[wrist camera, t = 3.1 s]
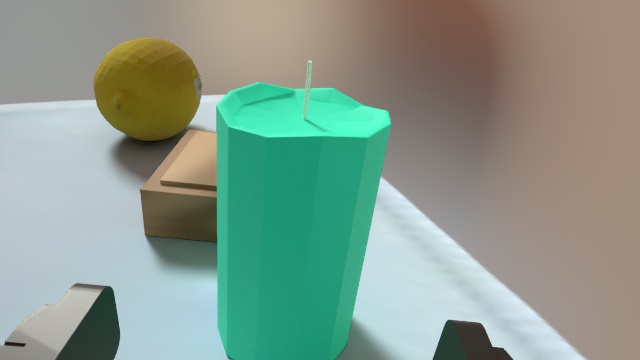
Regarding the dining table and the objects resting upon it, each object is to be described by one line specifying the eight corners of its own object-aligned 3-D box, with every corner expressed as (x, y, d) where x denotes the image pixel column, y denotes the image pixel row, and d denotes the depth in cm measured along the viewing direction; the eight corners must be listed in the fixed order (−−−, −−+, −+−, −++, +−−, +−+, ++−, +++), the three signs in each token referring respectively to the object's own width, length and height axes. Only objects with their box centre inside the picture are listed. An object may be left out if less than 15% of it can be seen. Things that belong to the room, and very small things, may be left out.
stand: (145, 235, 24) (139, 185, 22) (190, 165, 32) (189, 125, 30) (302, 250, 24) (307, 202, 23) (308, 178, 32) (312, 139, 31)
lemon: (165, 167, 31) (157, 58, 28) (72, 148, 32) (52, 41, 29) (224, 121, 41) (224, 36, 37) (150, 107, 42) (143, 23, 38)
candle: (363, 374, 17) (431, 94, 12) (215, 388, 16) (211, 81, 11) (334, 276, 23) (371, 48, 17) (219, 281, 21) (219, 36, 16)
